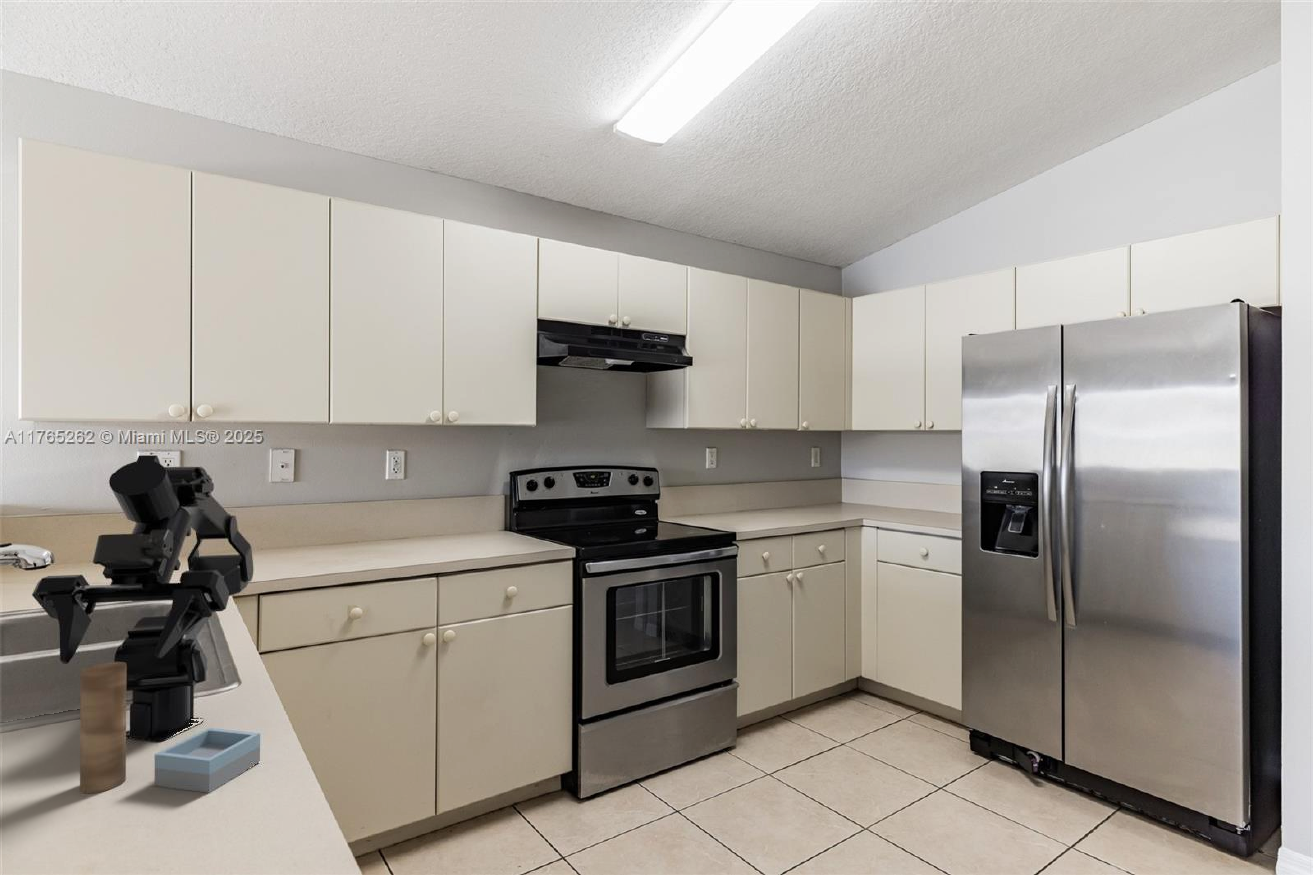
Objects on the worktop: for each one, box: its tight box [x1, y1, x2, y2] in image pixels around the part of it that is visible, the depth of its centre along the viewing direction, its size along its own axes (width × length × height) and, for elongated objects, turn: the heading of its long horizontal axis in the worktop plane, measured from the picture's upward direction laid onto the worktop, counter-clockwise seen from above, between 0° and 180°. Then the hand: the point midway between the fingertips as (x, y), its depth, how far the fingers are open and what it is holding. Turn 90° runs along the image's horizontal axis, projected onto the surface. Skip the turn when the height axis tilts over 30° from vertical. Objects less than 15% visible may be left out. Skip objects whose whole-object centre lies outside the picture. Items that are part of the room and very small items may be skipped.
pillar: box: [79, 661, 127, 794], centre depth 77 cm, size 4×4×13 cm
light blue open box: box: [154, 727, 261, 794], centre depth 80 cm, size 7×7×4 cm
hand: (111, 659), depth 79 cm, fingers open, 9 cm apart
